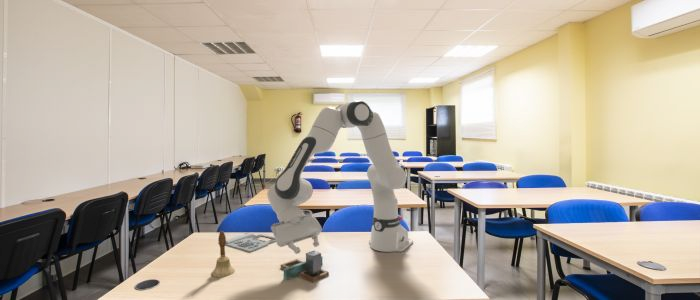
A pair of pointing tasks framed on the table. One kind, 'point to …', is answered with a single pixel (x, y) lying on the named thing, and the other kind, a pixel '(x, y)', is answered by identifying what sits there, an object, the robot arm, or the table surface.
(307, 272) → the gray block
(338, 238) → the table surface
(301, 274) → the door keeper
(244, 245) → the office telephone
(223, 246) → the hand bell
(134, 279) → the table surface
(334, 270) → the table surface
